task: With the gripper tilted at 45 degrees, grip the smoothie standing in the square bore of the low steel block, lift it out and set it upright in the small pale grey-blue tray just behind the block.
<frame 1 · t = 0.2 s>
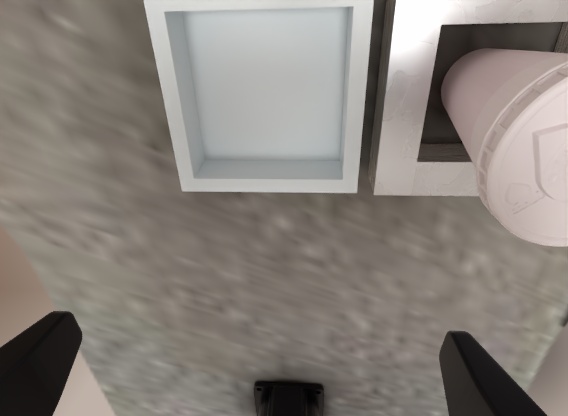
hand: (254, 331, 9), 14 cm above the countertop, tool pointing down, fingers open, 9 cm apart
bore block: (478, 86, 19), on the countertop
smoothie: (476, 85, 19), resting in bore block
tray: (269, 88, 20), on the countertop
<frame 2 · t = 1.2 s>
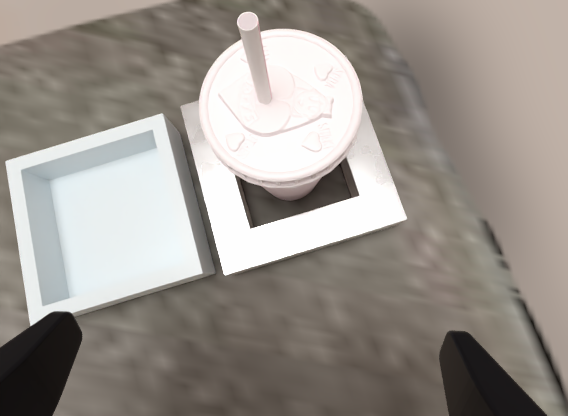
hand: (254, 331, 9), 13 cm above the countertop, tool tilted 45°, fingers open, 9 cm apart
bore block: (290, 172, 23), on the countertop
smoothie: (290, 173, 24), resting in bore block
tray: (125, 222, 23), on the countertop
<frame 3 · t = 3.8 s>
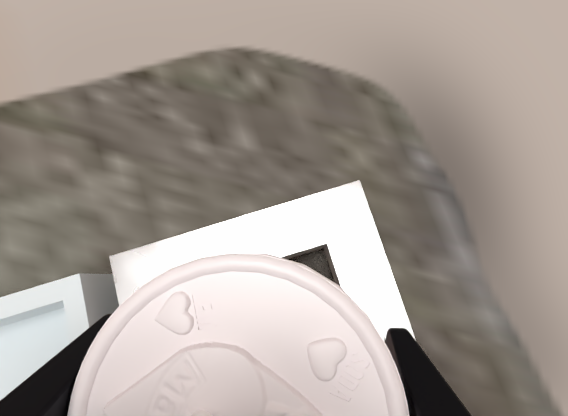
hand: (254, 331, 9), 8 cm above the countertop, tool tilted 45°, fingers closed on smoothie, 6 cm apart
bore block: (276, 339, 16), on the countertop
smoothie: (276, 338, 16), resting in bore block, touching gripper
tray: (35, 413, 16), on the countertop
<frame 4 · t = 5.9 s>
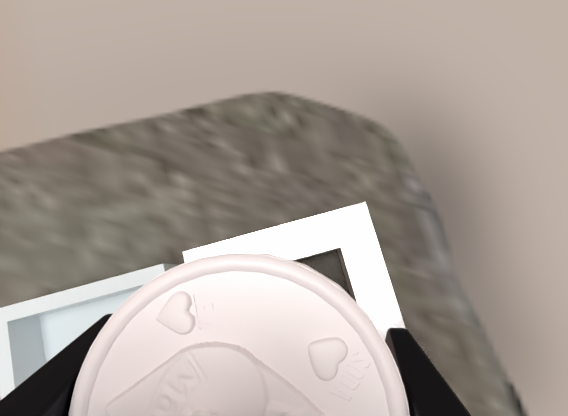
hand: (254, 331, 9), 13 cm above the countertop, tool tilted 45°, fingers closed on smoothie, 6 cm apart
bore block: (299, 316, 22), on the countertop
smoothie: (275, 337, 16), point 5 cm above the countertop, touching gripper
tray: (120, 365, 22), on the countertop
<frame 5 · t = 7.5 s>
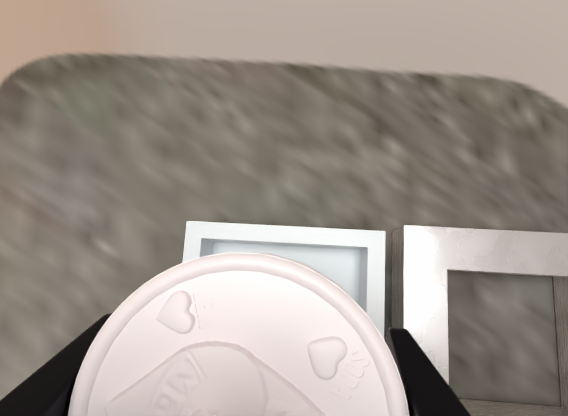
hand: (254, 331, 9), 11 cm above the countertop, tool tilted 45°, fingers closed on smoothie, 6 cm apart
bore block: (492, 335, 19), on the countertop
smoothie: (274, 337, 16), point 4 cm above the countertop, touching gripper
tray: (282, 321, 20), on the countertop
when the fingers open (9 cm above the countertop, at t = 8.4 s): smoothie stays where it is, resting on tray.
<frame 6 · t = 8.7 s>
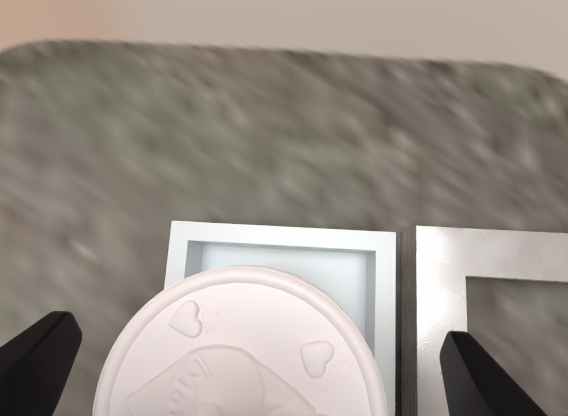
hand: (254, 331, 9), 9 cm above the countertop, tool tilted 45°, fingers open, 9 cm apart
bore block: (515, 349, 17), on the countertop
smoothie: (274, 339, 17), resting on tray
tray: (279, 333, 18), on the countertop
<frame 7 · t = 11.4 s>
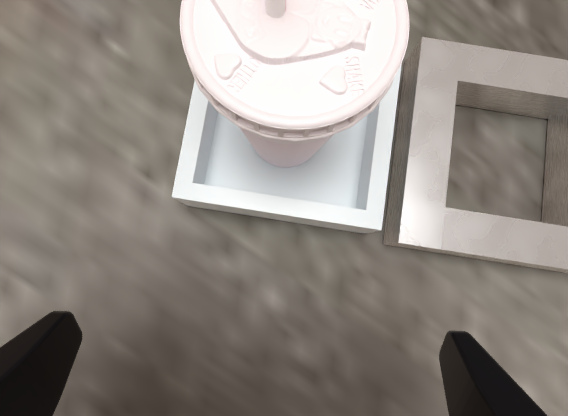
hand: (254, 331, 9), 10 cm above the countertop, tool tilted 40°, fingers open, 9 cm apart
bore block: (487, 165, 20), on the countertop
smoothie: (286, 135, 20), resting on tray
tray: (290, 134, 20), on the countertop
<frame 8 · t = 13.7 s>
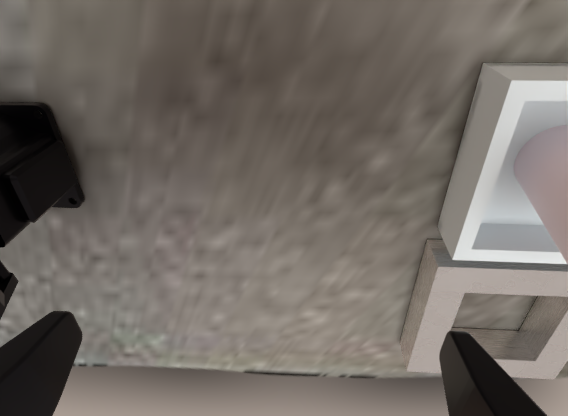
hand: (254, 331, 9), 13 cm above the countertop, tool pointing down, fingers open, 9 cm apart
bore block: (487, 299, 26), on the countertop
smoothie: (550, 157, 19), resting on tray
tray: (549, 157, 19), on the countertop
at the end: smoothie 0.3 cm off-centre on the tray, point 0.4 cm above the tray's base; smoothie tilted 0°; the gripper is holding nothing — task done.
